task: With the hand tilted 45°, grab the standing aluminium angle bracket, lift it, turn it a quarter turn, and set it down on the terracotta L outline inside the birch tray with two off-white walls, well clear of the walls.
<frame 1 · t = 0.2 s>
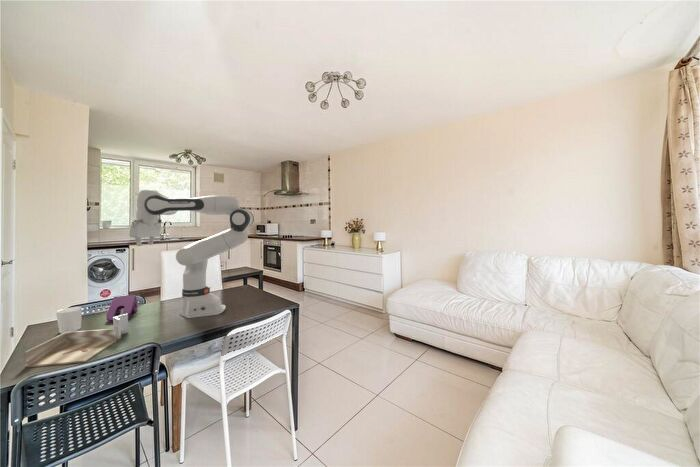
hand: (145, 245, 134), 39 cm above the table, tool pointing down, fingers open, 8 cm apart
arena: (75, 352, 98), on the table
angle bracket: (123, 335, 113), on the table
mounting bracket: (122, 317, 134), on the table
pliers: (110, 309, 145), on the table
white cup: (70, 330, 117), on the table
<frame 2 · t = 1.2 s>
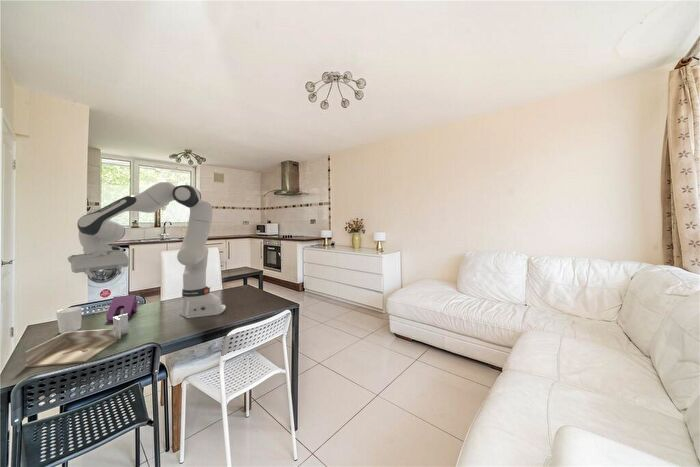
hand: (106, 275, 118), 26 cm above the table, tool tilted 45°, fingers open, 8 cm apart
nothing on the table moved.
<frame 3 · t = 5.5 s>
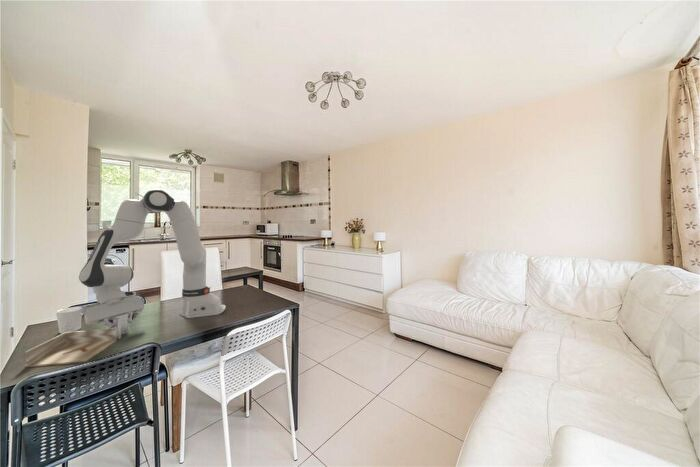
hand: (121, 324, 113), 5 cm above the table, tool tilted 45°, fingers closed on angle bracket, 5 cm apart
angle bracket: (123, 335, 113), on the table, touching gripper
everything else where it was.
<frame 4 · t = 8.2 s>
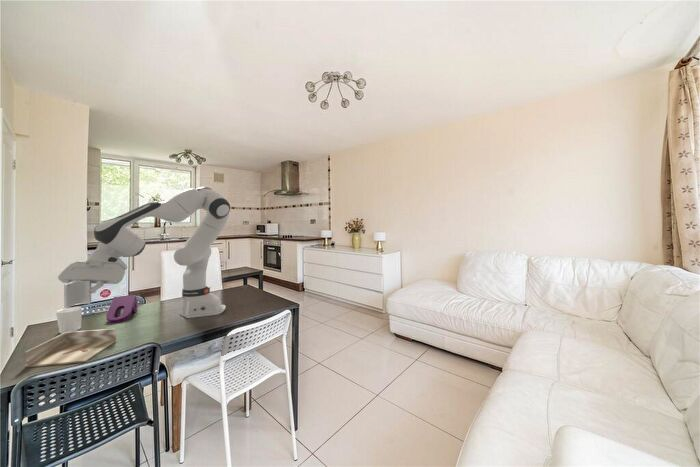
hand: (81, 292, 97), 24 cm above the table, tool tilted 45°, fingers closed on angle bracket, 5 cm apart
angle bracket: (78, 305, 96), point 20 cm above the table, touching gripper
everything else where it was.
when the fingers open (7 cm above the table, at t = 11.2 s): angle bracket drops 2 cm, resting on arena.
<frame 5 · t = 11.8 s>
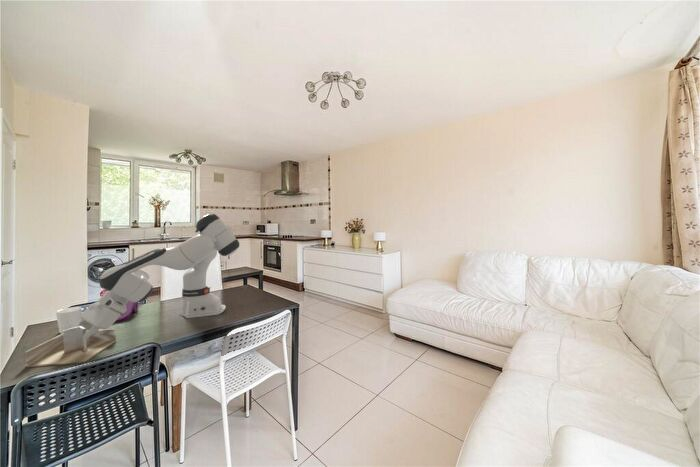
hand: (80, 334, 99), 7 cm above the table, tool tilted 45°, fingers open, 8 cm apart
angle bracket: (75, 351, 98), point 1 cm above the table, touching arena
everything else where it was.
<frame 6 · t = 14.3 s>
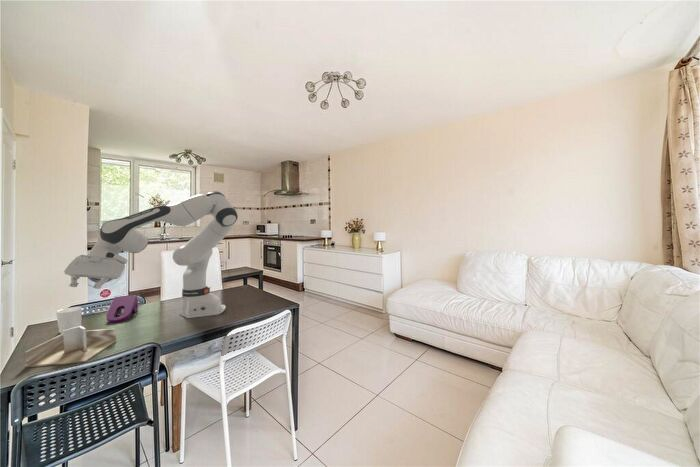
hand: (84, 287, 101), 25 cm above the table, tool tilted 35°, fingers open, 8 cm apart
nothing on the table moved.
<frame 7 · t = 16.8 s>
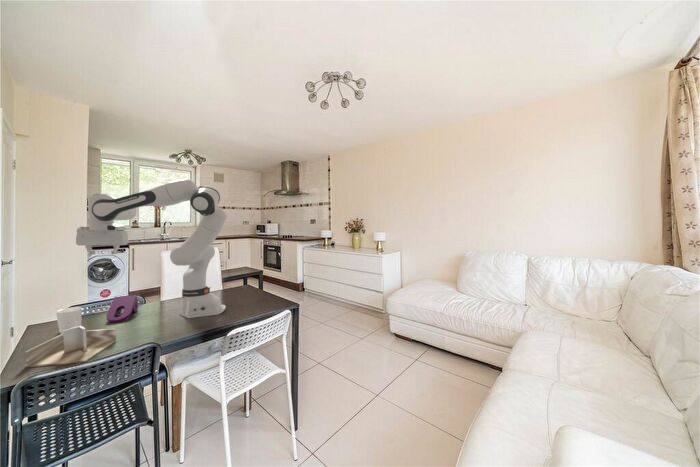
hand: (103, 254, 124), 35 cm above the table, tool pointing down, fingers open, 8 cm apart
nothing on the table moved.
at the end: angle bracket 0.1 cm off-centre on the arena, point 0.8 cm above the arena's base; angle bracket tilted 0°; the gripper is holding nothing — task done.
